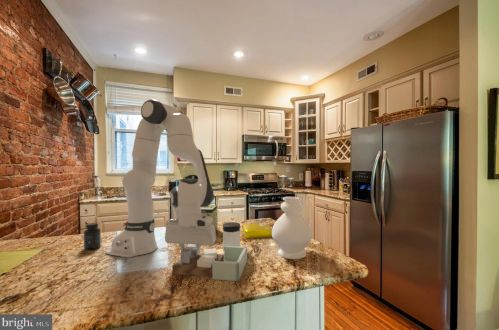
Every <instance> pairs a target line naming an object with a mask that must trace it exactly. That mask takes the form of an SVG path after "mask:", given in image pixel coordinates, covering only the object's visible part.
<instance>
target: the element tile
mask: <svg viewBox="0 0 499 330" xmlns="http://www.w3.org/2000/svg"><path fill="white" fill-rule="evenodd" d="M242 231H243V235H244V238H246V239H258V238H271V237H272V228H271V227H270V225H269V224H268V223H266V222H265V223H264V222H261V223H244V224H243V225H242Z"/></svg>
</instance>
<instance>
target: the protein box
mask: <svg viewBox="0 0 499 330" xmlns="http://www.w3.org/2000/svg"><path fill="white" fill-rule="evenodd" d="M200 208H201V214H204V215H206V216H209V217H212V218H213V222H212V224H213V225H214V227H215V232H217V231H218V204H210V205H209V206H207V207H200Z"/></svg>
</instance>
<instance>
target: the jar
mask: <svg viewBox="0 0 499 330" xmlns="http://www.w3.org/2000/svg"><path fill="white" fill-rule="evenodd" d="M222 243H223V244H222V249H223V250H222V251H223V252H224V246H236V247H241V224H240V223H239V222H234V221H233V222H231V221H229V222H225V223H223V224H222Z"/></svg>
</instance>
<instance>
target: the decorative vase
mask: <svg viewBox="0 0 499 330" xmlns="http://www.w3.org/2000/svg"><path fill="white" fill-rule="evenodd" d="M282 200H283V202H282V203H281V204H280V210H282V211H283V213H282V215H280V216H279V217H278V219H277V220H275V222H274V224H273V226H272V228H271V233H272V236H271V237H272V239H273V241H274V243H275V244H276V245H277V246H278V247H279V249H278V250H277V255H278V256H280V257H281V258H283V259H288V260H300V259H304V258H306V256H307V252H306V250H305V249H306V248H307V247H308V245H309V244H310V242H311V241H312V238H313V231H312V227H311V225H310V224H309V222H307V220H306V219H305V218H304V217H303V215H301V214H300V211H302V209H303V206H302V203H301V202H299V201H301V200H300V197H298V196H284V197H282Z"/></svg>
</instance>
